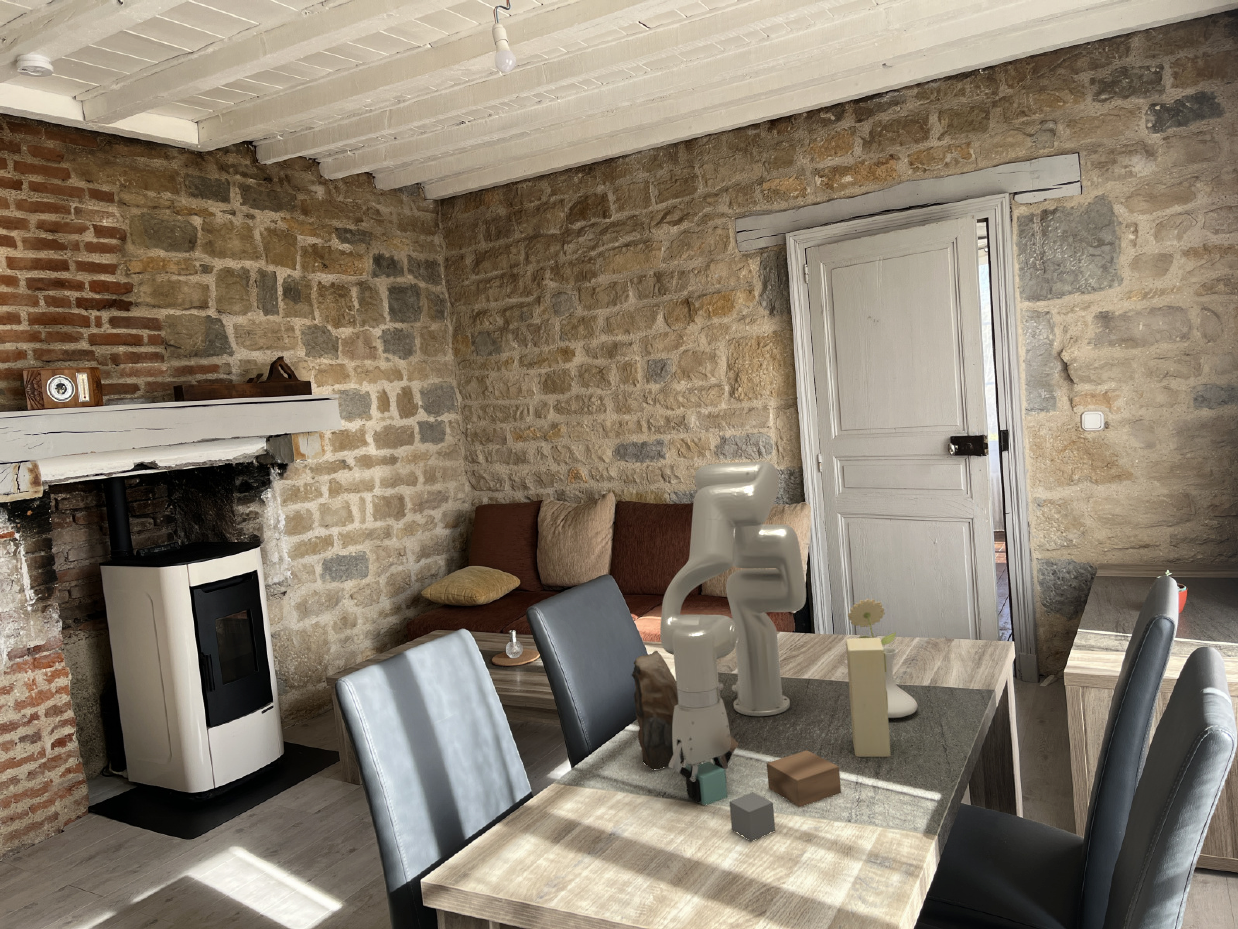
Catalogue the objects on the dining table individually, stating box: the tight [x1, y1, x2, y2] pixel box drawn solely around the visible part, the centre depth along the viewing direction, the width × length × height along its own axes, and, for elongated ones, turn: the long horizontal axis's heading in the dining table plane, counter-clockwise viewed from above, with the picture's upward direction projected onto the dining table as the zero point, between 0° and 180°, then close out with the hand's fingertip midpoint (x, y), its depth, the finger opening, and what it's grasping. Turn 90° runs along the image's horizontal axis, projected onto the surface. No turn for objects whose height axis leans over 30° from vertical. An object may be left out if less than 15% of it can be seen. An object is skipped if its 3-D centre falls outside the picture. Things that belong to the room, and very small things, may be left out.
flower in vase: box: [847, 598, 919, 719], centre depth 187 cm, size 13×11×25 cm
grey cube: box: [728, 791, 776, 842], centre depth 143 cm, size 5×5×5 cm
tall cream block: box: [845, 637, 891, 758], centre depth 170 cm, size 8×7×21 cm
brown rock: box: [631, 650, 684, 771], centre depth 177 cm, size 13×13×20 cm
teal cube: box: [690, 760, 728, 806], centre depth 157 cm, size 5×5×5 cm
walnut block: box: [766, 749, 842, 808], centre depth 156 cm, size 9×9×5 cm
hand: (707, 793), depth 157 cm, fingers closed on teal cube, 5 cm apart
